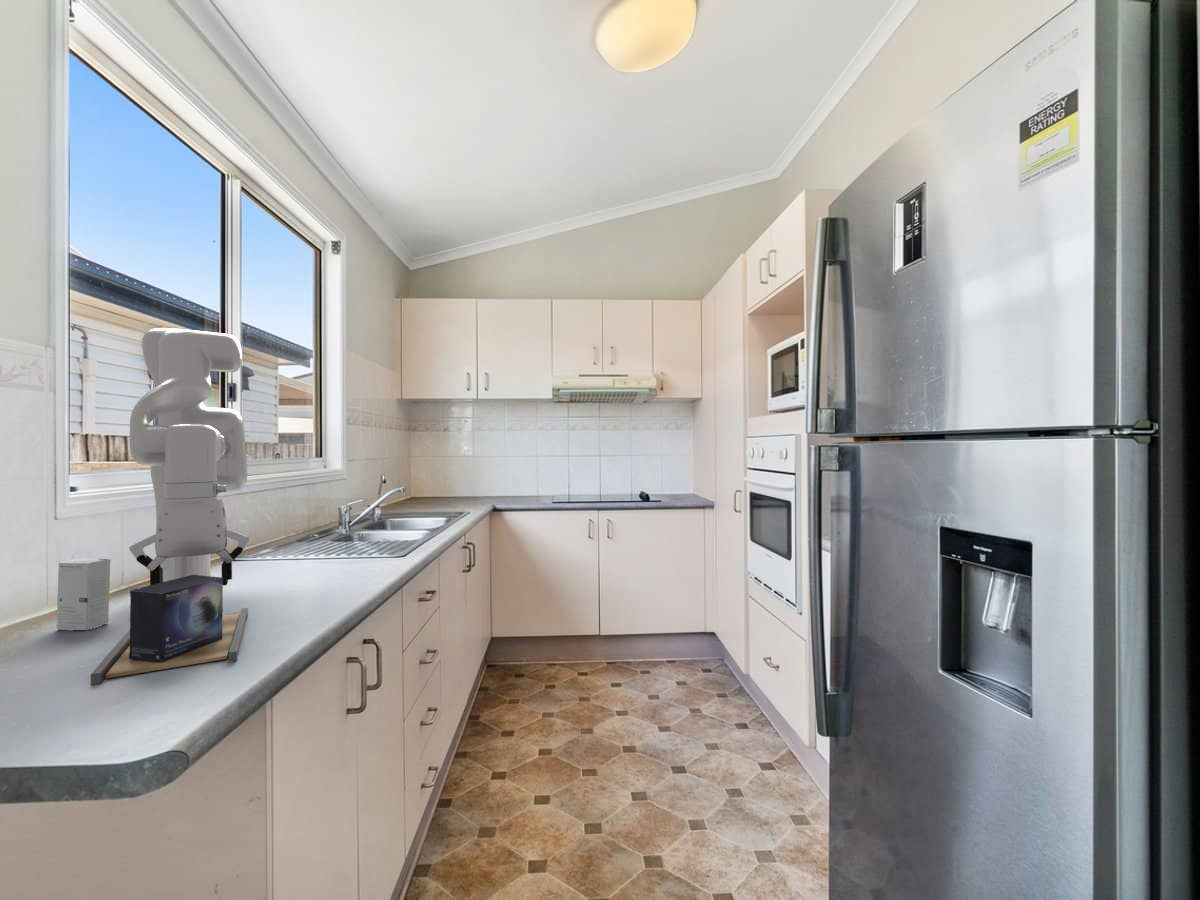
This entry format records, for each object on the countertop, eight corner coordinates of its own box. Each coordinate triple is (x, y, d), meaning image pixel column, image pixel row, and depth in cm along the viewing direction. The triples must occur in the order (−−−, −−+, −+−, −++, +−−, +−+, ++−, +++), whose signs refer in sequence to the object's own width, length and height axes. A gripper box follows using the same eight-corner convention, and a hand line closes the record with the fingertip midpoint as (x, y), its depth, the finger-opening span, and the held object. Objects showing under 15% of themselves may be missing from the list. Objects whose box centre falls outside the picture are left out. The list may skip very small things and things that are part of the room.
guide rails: (136, 629, 97) (136, 621, 97) (247, 615, 105) (247, 607, 105) (90, 685, 74) (90, 674, 74) (236, 661, 82) (236, 651, 82)
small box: (162, 663, 80) (162, 592, 80) (126, 660, 81) (126, 590, 81) (225, 638, 90) (225, 575, 90) (192, 636, 91) (192, 573, 91)
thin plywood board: (146, 627, 97) (145, 591, 97) (239, 615, 104) (239, 581, 104) (105, 678, 76) (105, 631, 76) (227, 658, 83) (226, 616, 83)
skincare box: (55, 630, 96) (54, 562, 96) (80, 622, 101) (80, 557, 101) (87, 631, 96) (86, 563, 96) (112, 623, 100) (111, 557, 100)
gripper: (249, 489, 106) (250, 578, 106) (134, 494, 97) (135, 590, 97) (247, 491, 99) (248, 585, 99) (123, 496, 91) (124, 599, 90)
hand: (192, 587), depth 98 cm, fingers open, 9 cm apart
